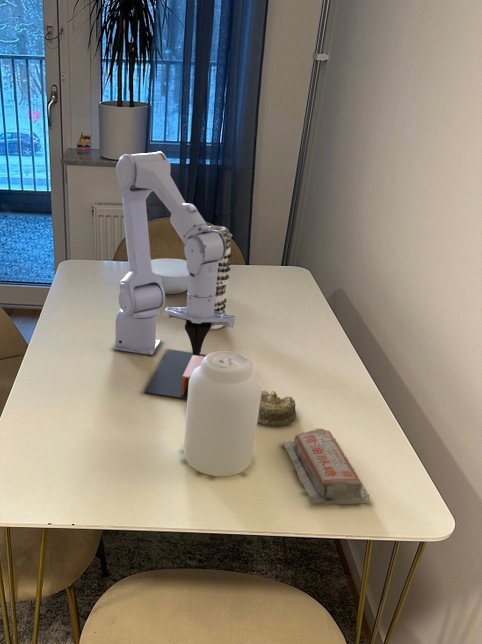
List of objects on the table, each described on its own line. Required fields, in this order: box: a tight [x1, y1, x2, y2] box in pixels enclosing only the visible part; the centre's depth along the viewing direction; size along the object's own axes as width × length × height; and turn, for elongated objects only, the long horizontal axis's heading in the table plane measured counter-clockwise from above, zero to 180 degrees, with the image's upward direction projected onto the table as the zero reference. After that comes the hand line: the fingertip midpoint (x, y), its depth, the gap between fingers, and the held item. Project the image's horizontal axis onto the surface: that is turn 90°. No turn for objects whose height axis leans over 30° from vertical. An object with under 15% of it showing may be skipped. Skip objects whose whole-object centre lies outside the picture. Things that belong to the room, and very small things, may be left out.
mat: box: [144, 349, 207, 401], centre depth 145 cm, size 18×22×1 cm
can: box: [183, 350, 263, 477], centre depth 113 cm, size 12×12×20 cm
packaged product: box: [283, 428, 370, 506], centre depth 114 cm, size 18×5×10 cm
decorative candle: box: [208, 225, 233, 330], centre depth 165 cm, size 9×9×25 cm
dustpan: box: [181, 355, 204, 395], centre depth 142 cm, size 4×17×9 cm
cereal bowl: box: [147, 257, 189, 295], centre depth 190 cm, size 17×17×7 cm
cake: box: [257, 390, 298, 427], centre depth 131 cm, size 10×10×5 cm
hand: (196, 353), depth 139 cm, fingers closed
